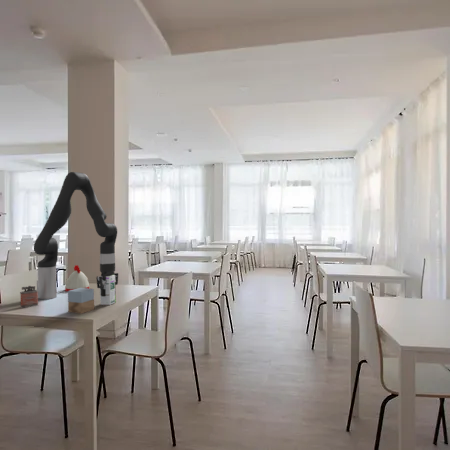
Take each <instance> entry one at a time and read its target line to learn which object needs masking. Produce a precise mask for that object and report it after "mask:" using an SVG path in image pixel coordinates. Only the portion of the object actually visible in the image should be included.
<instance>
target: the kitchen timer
mask: <svg viewBox="0 0 450 450" xmlns="http://www.w3.org/2000/svg"><path fill="white" fill-rule="evenodd" d="M73 270H74V271H73V272H71V273H70V274H69V276H68V278H66V279H65V286H64V289H65V290H64V291H65V292H68V291H70V290H74V289H78V288H88V289H90V283H89V282H90V281H89V278H88V277H87V276H86V274H85V273H84V272H83V271H81V269H80V267H79V265H78V264H77V265H76V264H75V265H74V267H73Z"/></svg>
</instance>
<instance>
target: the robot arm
mask: <svg viewBox="0 0 450 450" xmlns="http://www.w3.org/2000/svg"><path fill="white" fill-rule="evenodd" d="M75 191H81V192H82V194H83V195H84V197H85V200H86V201H85V202H86V204H85V205H86V206H85V207H86V210H87V212H88V214H89V215H90V217H91V219H92V221H93V224H94V228H95V231H96V234H97V236H100V237H101V238H104V240H103V241H102V242H101V243H100V244H99V272H100V273H101V274H100V275H99V276H96V277H95V278H96V287H97V289H99V290H100V289H101V296H103V297H104V296H106V291H105V287H106V285H107V280H106V276H110V275H115V287H116V286H117V285H118V284H119V273H118V272H116V254H115V253H116V252H115V247H116V246H115V243H116V241H117V237H118V227H117V225H116V224H114V223H112V222H108V223H107V222H106V221H105V220H106V219H107V214H106V211H105V210H104V209H103V207H102V205H101V204H100V202H99V200H98V197H97V195H96V193H95V190H94V188H93V185H92V183H91V180H90V178H89V176H88V175H87V174H86V173H83V172H78V171H70V172H69V173H67V174H66V176H65V178H64V180H63V183H62V186H61V189H60V191H59V194H58V195H57V196H58V197H57V200H56V201H55V204H54V205H53V207H52V209H51V211H50V213H49V216H48V218H47V220H46V222H45V224H44V226H43V228H42V229H41V231H40V233H39V234H38V236H37V237H36V239H35V241H34V243H33V251H34V252H35V254H37V255H38V256H43V255H44V257H43V258H42V259H41V260H39V261H38V262H37V280H36V290H38V300H50V299H55V298H57V296H58V295H57V294H58V293H57V263H58V260H59V259H58V256H59V244H58V240H57V238H55V237H53V236H54V235H55V234H56V233H57V232H58V231H59V230H61V229H62V228H63V227H65V225H66V224H67V223H68V220H69V218H70V216H71V214H72V205H71V204H72V202H71V200H72V196H73V195H74V193H75ZM102 280H104V281H106V282H105V283H103V282H102ZM103 284H104V286H103Z"/></svg>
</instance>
